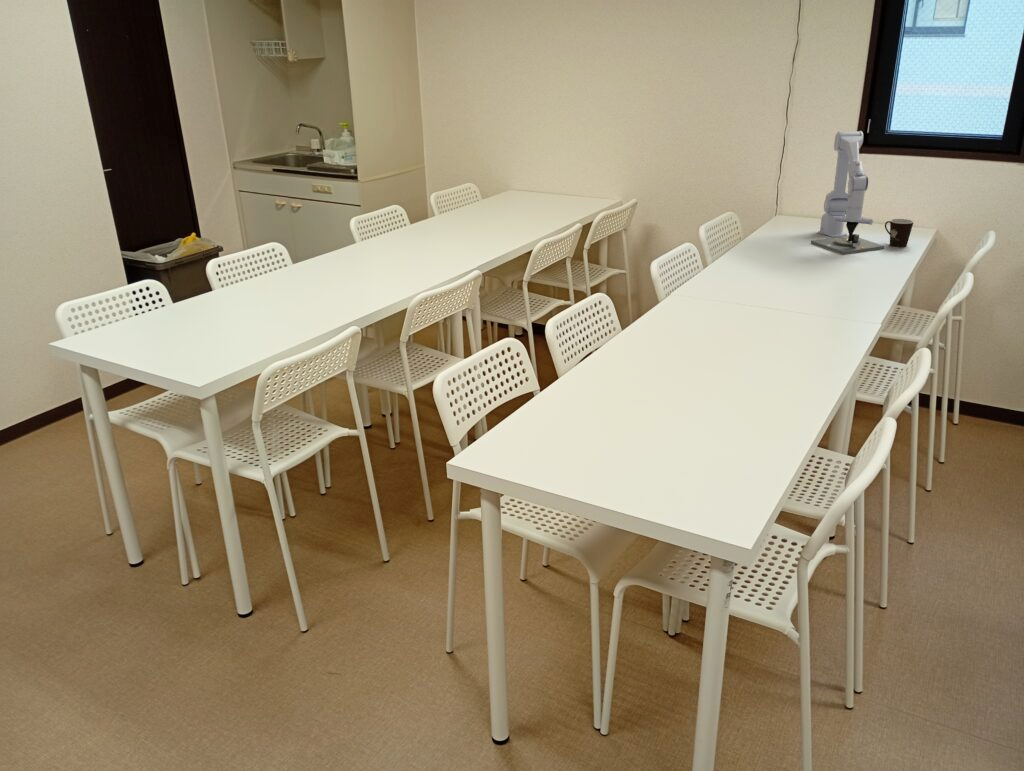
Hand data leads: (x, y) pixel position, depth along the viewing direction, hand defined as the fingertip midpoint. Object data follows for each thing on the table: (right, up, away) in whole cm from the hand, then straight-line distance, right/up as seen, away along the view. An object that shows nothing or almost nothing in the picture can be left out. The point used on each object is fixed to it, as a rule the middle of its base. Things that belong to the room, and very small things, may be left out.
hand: (850, 240), depth 333 cm
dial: (+2, 0, +5) cm, 6 cm away
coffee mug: (+22, -1, +7) cm, 23 cm away
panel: (+2, -1, +7) cm, 8 cm away
